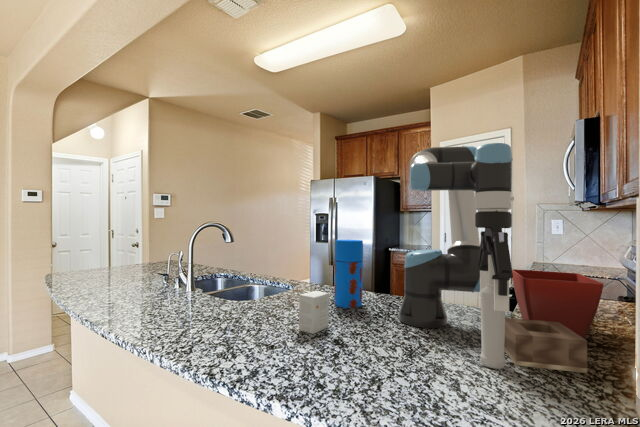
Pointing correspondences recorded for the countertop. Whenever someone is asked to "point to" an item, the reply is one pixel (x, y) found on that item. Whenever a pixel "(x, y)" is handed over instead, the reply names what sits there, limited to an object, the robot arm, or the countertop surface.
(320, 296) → the small box
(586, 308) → the plant pot
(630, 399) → the countertop surface
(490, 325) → the bottle
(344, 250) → the thermos
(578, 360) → the socket block
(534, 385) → the countertop surface
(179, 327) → the countertop surface
